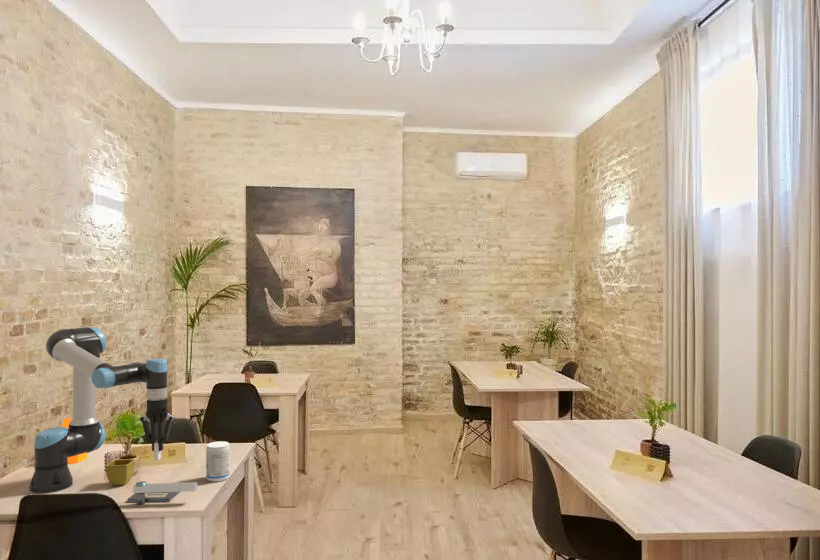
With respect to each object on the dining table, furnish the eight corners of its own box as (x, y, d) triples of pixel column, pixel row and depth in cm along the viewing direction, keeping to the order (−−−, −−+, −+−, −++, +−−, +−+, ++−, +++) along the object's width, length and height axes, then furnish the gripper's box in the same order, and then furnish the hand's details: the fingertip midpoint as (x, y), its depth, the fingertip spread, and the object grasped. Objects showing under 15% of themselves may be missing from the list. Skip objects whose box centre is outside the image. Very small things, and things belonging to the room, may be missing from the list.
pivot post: (135, 504, 221) (135, 494, 221) (139, 502, 224) (139, 491, 224) (143, 504, 221) (143, 494, 221) (146, 502, 224) (146, 491, 224)
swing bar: (132, 493, 221) (132, 484, 221) (136, 490, 224) (136, 481, 224) (194, 491, 222) (194, 482, 222) (197, 488, 225) (197, 479, 225)
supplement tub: (205, 476, 253) (205, 442, 253) (228, 473, 257) (228, 440, 257) (207, 483, 244) (207, 448, 244) (231, 480, 248) (230, 445, 248)
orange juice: (69, 458, 283) (69, 416, 284) (87, 458, 283) (87, 416, 283) (59, 463, 276) (59, 420, 276) (77, 463, 275) (77, 420, 275)
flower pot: (114, 480, 250) (114, 459, 250) (135, 480, 250) (135, 458, 250) (105, 487, 241) (105, 465, 241) (127, 487, 241) (127, 465, 241)
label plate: (127, 502, 224) (127, 498, 224) (142, 490, 237) (142, 486, 237) (169, 501, 224) (169, 497, 224) (182, 489, 237) (182, 486, 237)
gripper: (135, 400, 226) (136, 462, 226) (170, 400, 227) (170, 461, 226) (144, 397, 234) (144, 456, 234) (177, 396, 234) (178, 455, 234)
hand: (157, 459), depth 230 cm, fingers closed
